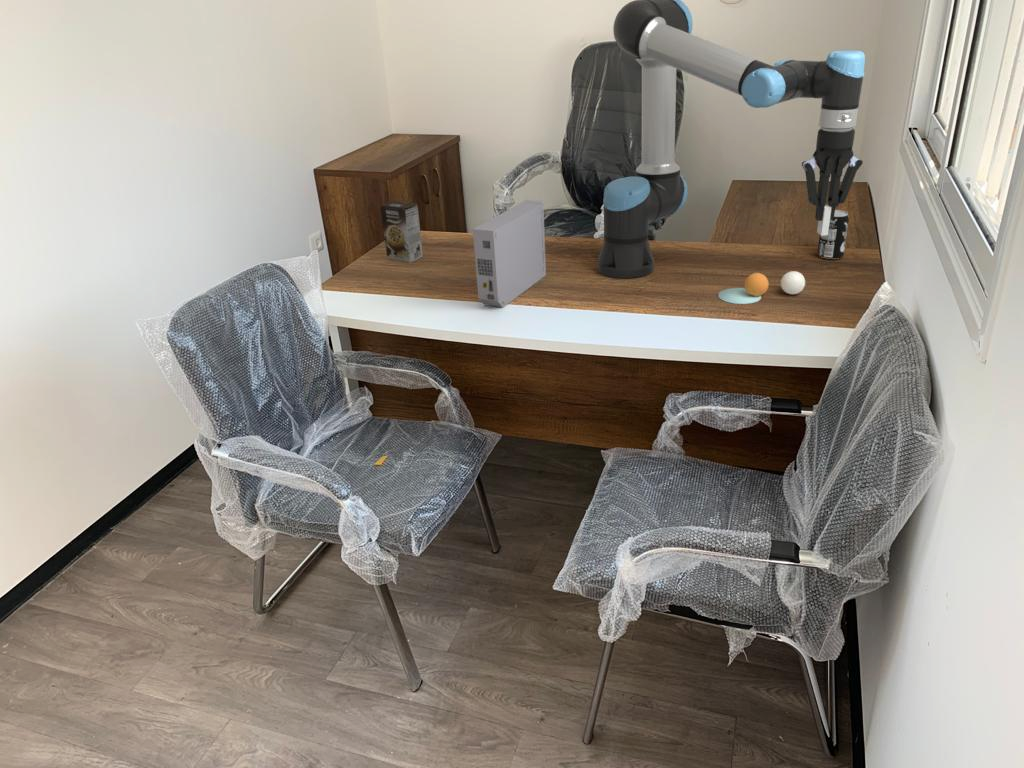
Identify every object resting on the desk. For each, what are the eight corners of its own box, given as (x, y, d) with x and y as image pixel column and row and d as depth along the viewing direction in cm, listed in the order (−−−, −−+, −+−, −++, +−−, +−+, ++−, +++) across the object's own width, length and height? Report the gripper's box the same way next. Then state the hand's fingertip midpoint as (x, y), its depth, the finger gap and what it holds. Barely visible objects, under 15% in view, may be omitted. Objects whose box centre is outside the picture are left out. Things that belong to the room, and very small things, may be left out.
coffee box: (386, 259, 224) (378, 205, 216) (400, 253, 229) (393, 199, 221) (410, 263, 219) (403, 208, 212) (424, 256, 224) (417, 202, 217)
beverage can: (839, 252, 207) (845, 209, 201) (846, 260, 201) (853, 215, 195) (814, 253, 207) (819, 209, 202) (820, 261, 202) (826, 216, 196)
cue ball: (813, 284, 179) (796, 302, 181) (804, 276, 184) (788, 293, 186) (798, 271, 177) (781, 289, 179) (789, 263, 182) (772, 281, 184)
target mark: (724, 305, 179) (724, 304, 179) (713, 290, 188) (713, 289, 188) (766, 302, 179) (766, 301, 179) (754, 287, 188) (754, 286, 187)
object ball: (764, 302, 181) (744, 295, 180) (757, 294, 186) (737, 286, 185) (775, 282, 179) (755, 274, 178) (768, 274, 184) (748, 266, 183)
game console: (548, 274, 205) (545, 201, 195) (499, 311, 184) (494, 231, 174) (529, 272, 207) (525, 199, 198) (479, 308, 186) (472, 229, 177)
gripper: (813, 133, 162) (799, 240, 173) (874, 129, 162) (857, 236, 173) (800, 127, 169) (788, 230, 180) (859, 123, 168) (843, 227, 179)
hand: (822, 233), depth 176 cm, fingers closed
